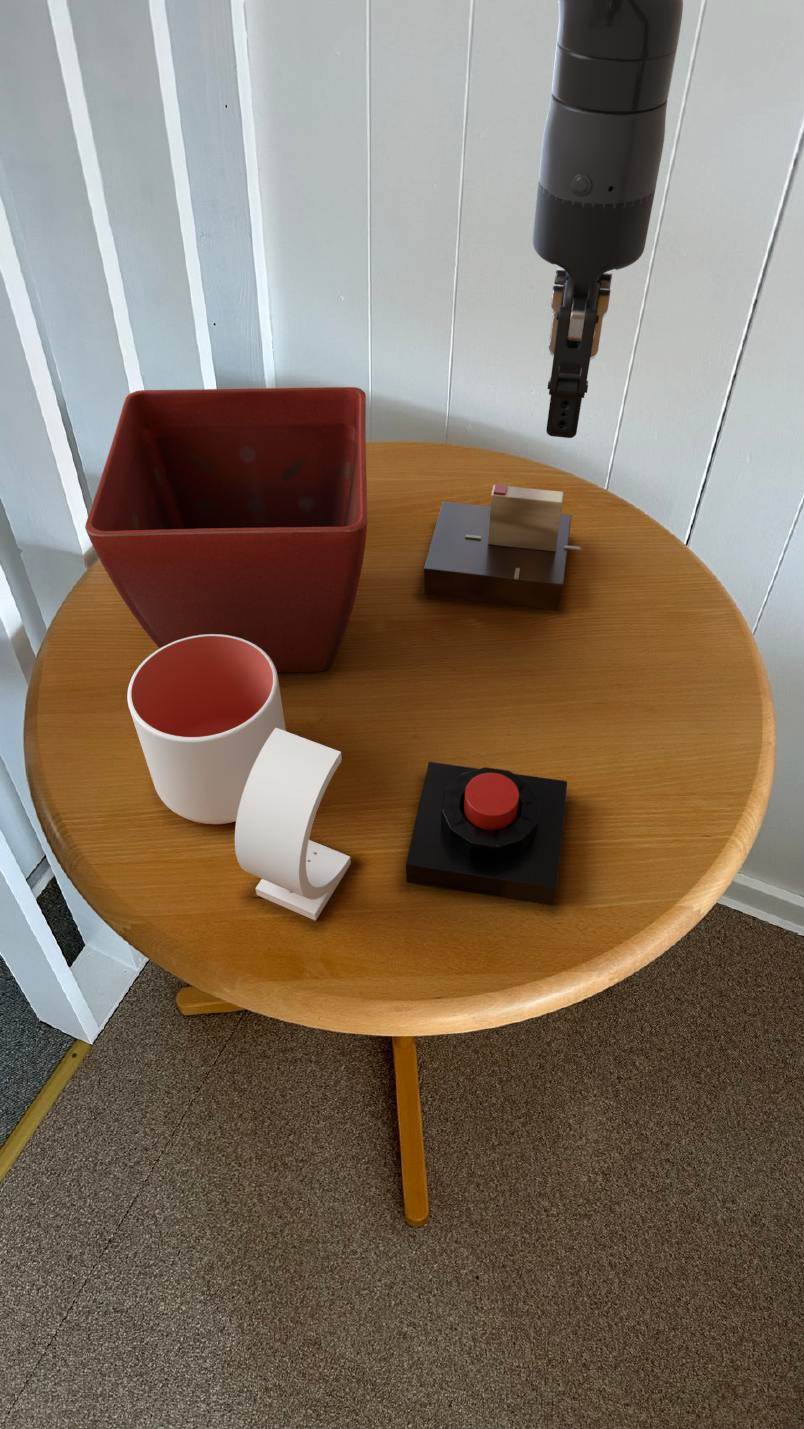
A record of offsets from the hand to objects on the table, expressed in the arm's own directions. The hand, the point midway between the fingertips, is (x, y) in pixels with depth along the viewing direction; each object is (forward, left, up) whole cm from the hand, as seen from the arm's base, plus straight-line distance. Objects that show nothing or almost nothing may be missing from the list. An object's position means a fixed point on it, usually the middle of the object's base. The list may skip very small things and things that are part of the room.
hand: (565, 404), depth 74 cm
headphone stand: (+13, +35, -18) cm, 41 cm away
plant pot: (+23, +10, -18) cm, 31 cm away
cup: (+21, +27, -18) cm, 39 cm away
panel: (+4, -1, -17) cm, 18 cm away
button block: (+1, +29, -17) cm, 34 cm away
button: (+1, +29, -14) cm, 32 cm away
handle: (+2, -1, -14) cm, 15 cm away
